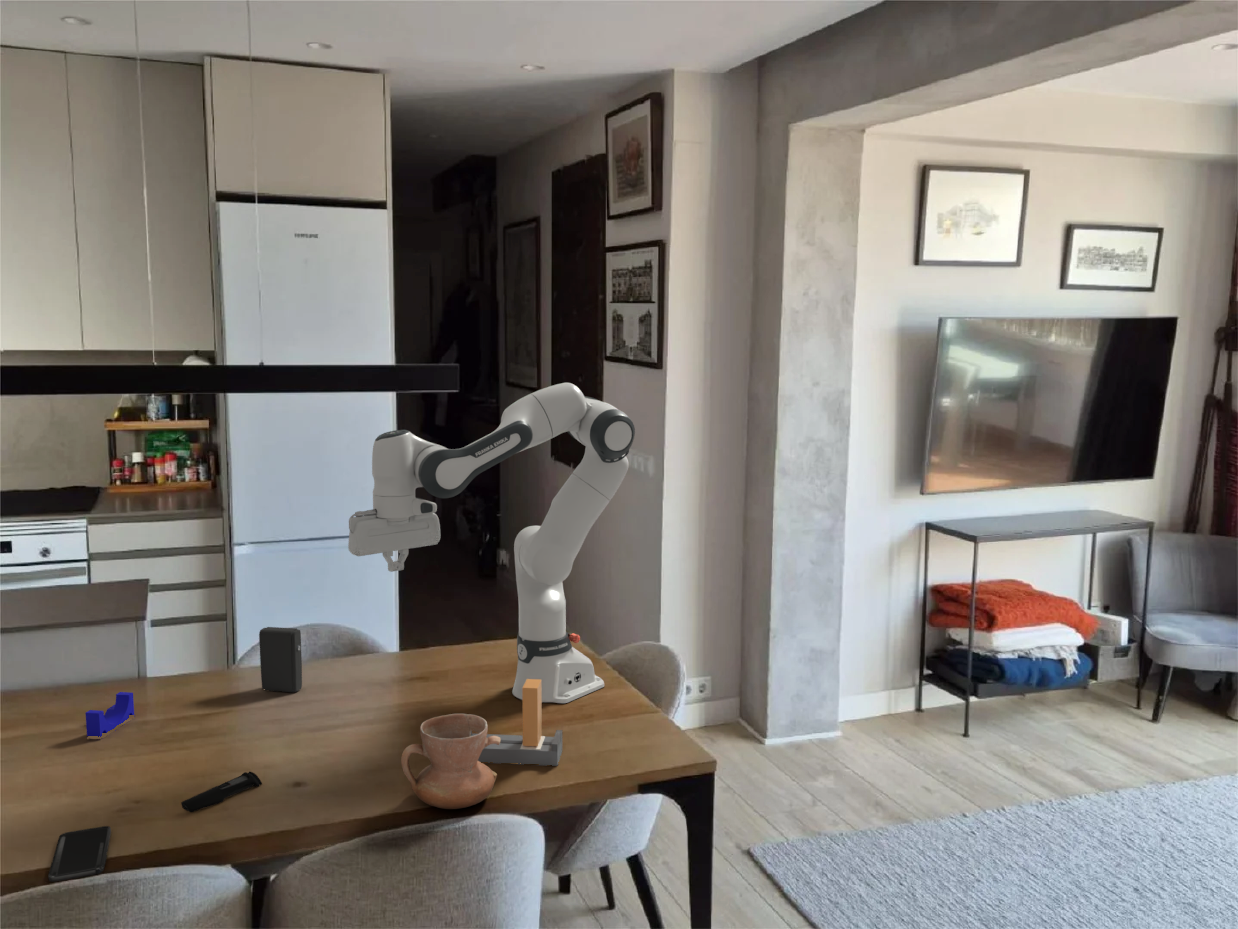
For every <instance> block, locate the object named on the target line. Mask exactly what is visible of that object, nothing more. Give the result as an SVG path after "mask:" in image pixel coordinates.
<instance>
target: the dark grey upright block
mask: <svg viewBox="0 0 1238 929" xmlns="http://www.w3.org/2000/svg"><path fill="white" fill-rule="evenodd" d="M259 630H260V631H259V634H258V636H259V638H258V640H259V641H258V642H259V643H258V644H259V659H260V661H259V662H260V676H261V678H260V679H261V688H262V690H263V689H265V690H264V691H266V690H269V691H268V692H278V691H282V692H281V693H296V692H299V691H300V690H301V689H302V687H303V667H302V666H303V663H302V661H303V660H302V658H303V656H302V635H301V634H302V633H301V629H298V628H294V627H293V628H291V627H277V626H276V627H275V626H266V627H263V628H261V629H259Z"/></svg>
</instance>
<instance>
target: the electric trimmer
mask: <svg viewBox="0 0 1238 929" xmlns="http://www.w3.org/2000/svg"><path fill="white" fill-rule="evenodd" d="M261 785H263V782H262V781H261V779H260V777H259V776H258V775H257V774H256V773H255V772H253V771H248V772H246V771H245V772H243V773H242V774H241V775H240V776H237V777H234V778H231V779H230V780H227V781H225V782H223V783H221V784H220V783H219V784H218V785H216V786H214V787H211V788H209V789H208V790H206V791H203V792H201V793H198V794H196V795H194V796H192V797H189V798H186V799H185V800H182V801H181V802H180V805H181V808H182V809H183V810H184V811H186V812H187V811H188V812H189V813H194V812H197V811H199V810H203V809H205V808H210V807H213V806H214V805H217V804H220V803H223V802H224V800H225V799H227V798H229V797H232V796H234V795H236V794H238V793H242V792H243V791H244V792H245V791H247V790H249V789H250V788H252V787H256V786H257V788H259V787H260V786H261Z"/></svg>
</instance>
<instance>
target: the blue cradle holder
mask: <svg viewBox="0 0 1238 929" xmlns="http://www.w3.org/2000/svg"><path fill="white" fill-rule="evenodd" d="M134 704H135V703H134V692H127V691H119V692H118V693H116V694H115V703H114V704H113V705H112V706H110V707H109V708H107V709H106V710H105V713H104V710H99V709H98V710H93V709H90V710H88V711H85V726H86V728H85V729H86V737H87V736H98V737H99V736H100V737H101V736H102V733H107V732H108V731H110V730H112V729H114V728H115V727H116V726H117V725H119V724H121V723H123V722H124V721H125V720H127V719H128V718H129V715H134V716H135V705H134Z"/></svg>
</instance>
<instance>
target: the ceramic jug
mask: <svg viewBox="0 0 1238 929" xmlns="http://www.w3.org/2000/svg"><path fill="white" fill-rule="evenodd" d="M488 727H489V726H488V722H487V720H486V719H485V718H483V717H482V716H479V715H476V714H470V713H469V714H467V713H452V714H451V713H450V714H446V715H445V714H444V715H439V716H434V717H431V718H429V719H426V720H424V721H423V722H421V724H420V727H419V731H420V732H419V733H420V738H421V742H422V744H419V743H412V744H410V745H408V746H406V747H405V749H404V750H403V751H402V754H401V758H400V760H401V768H402V770H403V773H404V775H405V776H406V778H407V780H408V781H409V782H410V784H411V785H410V786H411V790H412V792H414V793H415V795H416V796H417V797H418V798H419V799H420V800H421V801H422V802H424V803H425V804H426V805H429V806H431V807H435V808H439V809H442V810H443V809H444V810H458V809H465V808H468V807H471V806H474V805H477V804H479V803H481V802H483V801H484V800H485V799H486V798H487V797H489V796H490V794H491V793H492V790H493V788H494V785H495V782H496V779H497V777H498V774H497V773H496V772H495V771H493V770H492V768H490V767H489V766H487V765H486V763H481V762H479V761H478V759H479V757H480V754H481V752H482V750H483V749H484V748H485V747H486V746H488V745H490V744H497V745H499V744H500V741H501V739H500V737H498V736H490V737H488V738H486V736H487V734H488ZM471 731H472V732H475V733H476V734H477V735H474V736H471ZM412 754H419V755H421V756H424V757H425V758H427V759H429V761H430V764H429V765H427V766H426V767H424V768H423V769H422V770H421V771H420V772H419V773H418V775H417V776H416V777H415V776H414V774H413V772H412V770H411V767H410V757H411V755H412Z"/></svg>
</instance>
